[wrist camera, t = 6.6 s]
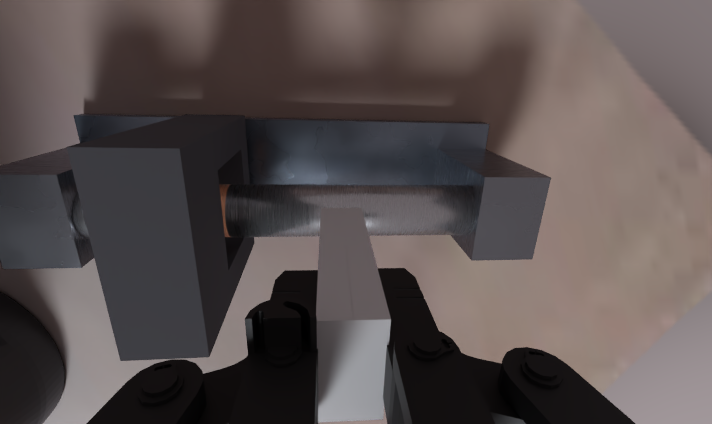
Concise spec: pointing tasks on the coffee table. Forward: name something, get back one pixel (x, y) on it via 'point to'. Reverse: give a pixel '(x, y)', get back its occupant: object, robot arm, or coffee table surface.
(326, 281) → the robot arm
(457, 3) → the coffee table surface
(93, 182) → the dark gray notched block
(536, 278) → the coffee table surface
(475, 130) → the rail
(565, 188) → the coffee table surface
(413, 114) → the coffee table surface
